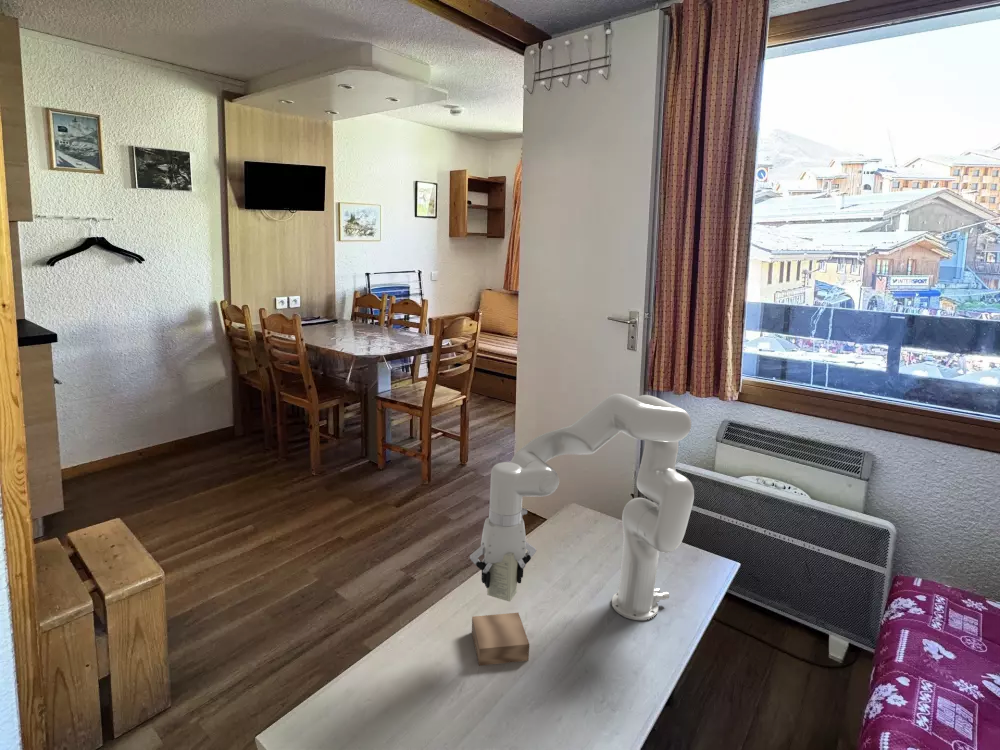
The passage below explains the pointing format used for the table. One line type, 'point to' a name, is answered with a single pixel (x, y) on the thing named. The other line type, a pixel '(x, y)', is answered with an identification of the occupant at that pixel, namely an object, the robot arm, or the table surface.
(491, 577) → the skincare box
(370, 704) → the table surface
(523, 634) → the walnut block
